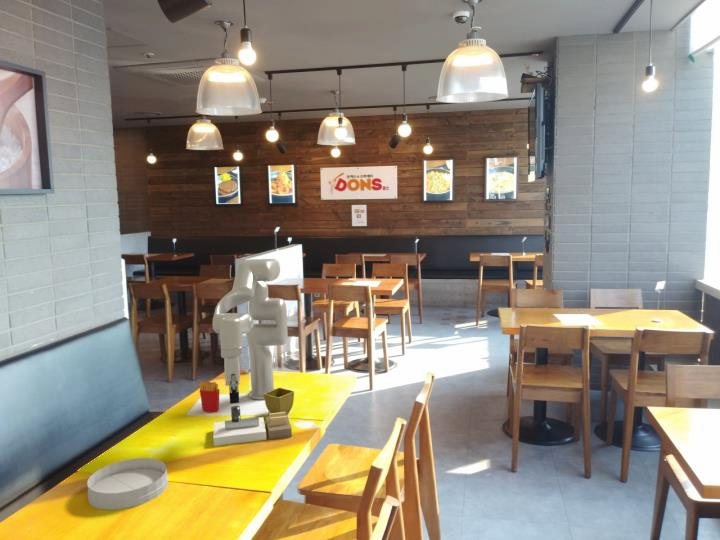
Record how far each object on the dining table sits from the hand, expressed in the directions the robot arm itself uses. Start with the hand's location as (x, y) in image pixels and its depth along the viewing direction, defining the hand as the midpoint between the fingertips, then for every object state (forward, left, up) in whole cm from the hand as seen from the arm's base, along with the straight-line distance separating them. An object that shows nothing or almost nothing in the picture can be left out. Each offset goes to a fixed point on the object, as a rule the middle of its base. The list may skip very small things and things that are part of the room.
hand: (234, 398), depth 204 cm
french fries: (-30, -10, -14) cm, 34 cm away
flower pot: (-17, +17, -14) cm, 28 cm away
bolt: (-1, +2, -11) cm, 11 cm away
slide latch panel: (-1, +5, -14) cm, 15 cm away
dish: (+30, -32, -14) cm, 46 cm away
